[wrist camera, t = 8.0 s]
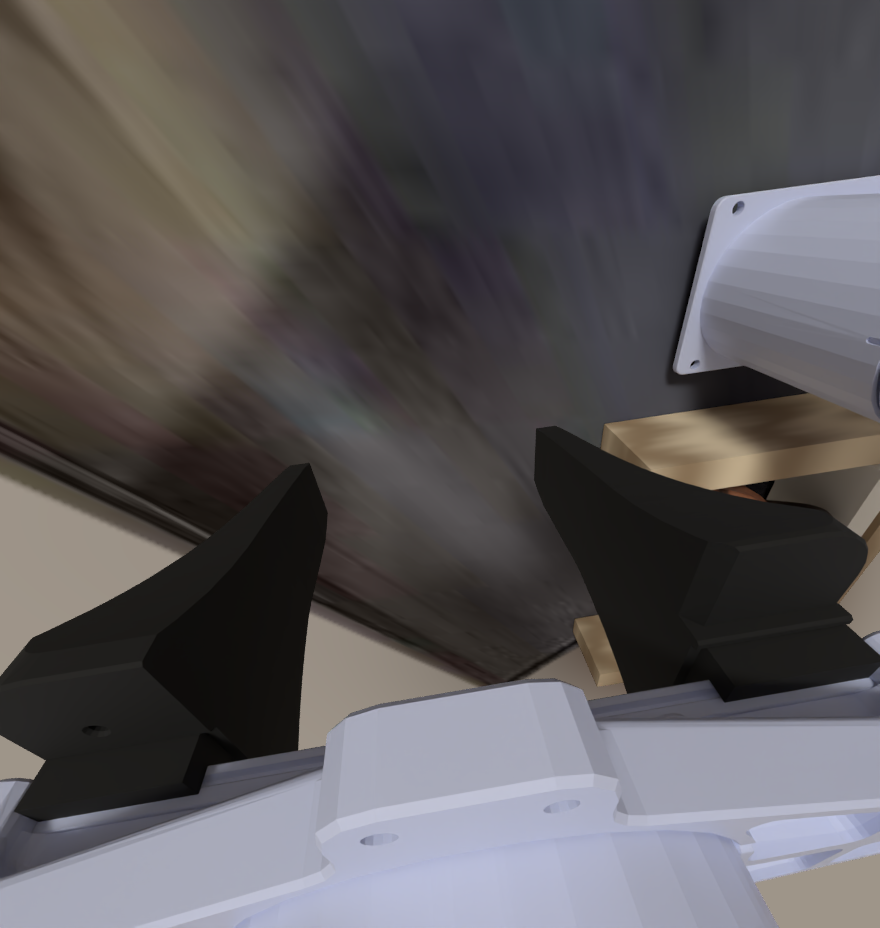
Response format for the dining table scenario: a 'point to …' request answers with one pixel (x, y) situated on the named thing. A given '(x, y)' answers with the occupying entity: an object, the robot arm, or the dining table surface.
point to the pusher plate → (836, 494)
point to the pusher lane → (737, 465)
